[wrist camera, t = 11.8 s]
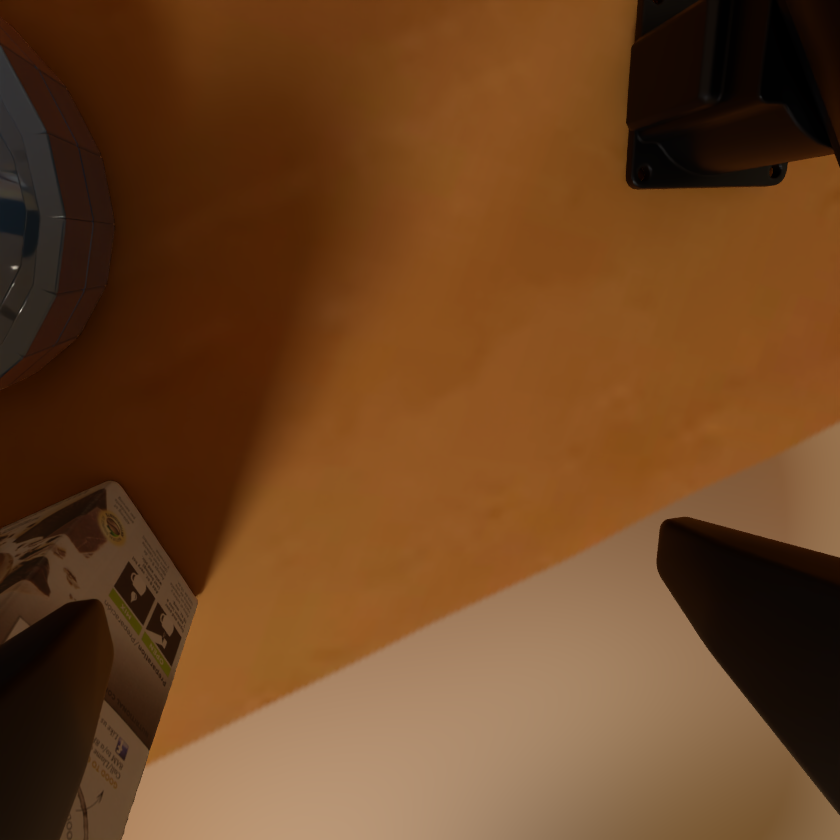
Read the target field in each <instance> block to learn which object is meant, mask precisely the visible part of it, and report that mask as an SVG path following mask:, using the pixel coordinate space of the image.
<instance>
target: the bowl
mask: <svg viewBox="0 0 840 840" xmlns="http://www.w3.org/2000/svg"><path fill="white" fill-rule="evenodd" d="M114 223H115V221H114V215H113V210H112V205H111V200H110V194H109V189H108V184H107V179H106V174H105V168H104V163H103V159H102V158H101V153H100V152H99V150H98V148H97V146H96V144H95V142H94V140H93V138H92V136H91V134H90V132H89V130H88V128H87V126H86V124H85V122H84V120H83V118H82V116H81V115H80V113H79V111H78V109H77V107H76V105H75V103H74V101H73V99H72V97H71V95H70V93H69V91H68V90H67V89H66V86H65V85H64V84H63V83H62V82H61V81H60V79H59V78H58V77H57V76H56V75H55V74H54V73H53V72H52V71H51V69H50V68H49V67H48V66H47V65H46V64H45V63H44V62H43V60H42V59H41V58H40V57H39V56H38V55H37V54H36V53H35V52H34V50H33V49H32V48H31V47H30V46H29V45H28V44H27V43H26V41H25V40H24V39H23V38H22V37H21V36H20V35H19V34H18V33H17V31H16V30H15V29H14V28H13V27H12V26H11V25H10V24H8V23H7V22H6V21H5V20H4V19H2V18H1V17H0V390H2V389H4V388H6V387H8V386H11V385H13V384H15V383H17V382H19V381H21V380H23V379H26V378H28V377H30V376H32V375H34V374H35V373H37V372H38V371H39V370H40V369H42V368H43V367H44V366H45V365H46V364H48V363H49V362H50V361H51V360H52V359H53V358H55V357H56V356H57V355H58V354H59V353H60V352H62V351H63V350H64V349H65V348H66V347H67V346H69V345H70V344H71V343H72V342H73V341H74V340H76V339H77V337H78V335H80V334H81V332H82V330H83V328H84V326H85V325H86V323H87V321H88V319H89V317H90V315H91V314H92V312H93V310H94V308H95V306H96V304H97V302H98V301H99V299H100V297H101V295H102V293H103V291H104V290H105V285H107V282H108V275H109V267H110V260H111V253H112V246H113V238H114V231H115V225H114Z"/></svg>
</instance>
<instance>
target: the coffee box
mask: <svg viewBox="0 0 840 840" xmlns="http://www.w3.org/2000/svg"><path fill="white" fill-rule="evenodd" d="M87 599H98V600H99V601H101V603H102V604H103V606H104V609H105V613H106V617H107V621H108V625H109V629H110V633H111V637H112V642H113V646H114V659H113V665H112V669H111V673H110V677H109V681H108V685H107V689H106V693H105V697H104V701H103V705H102V709H101V713H100V717H99V721H98V725H97V729H96V733H95V737H94V741H93V745H92V749H91V752H90V756H89V760H88V763H87V767H86V769H85V772H84V775H83V778H82V781H81V784H80V787H79V790H78V792H77V795H76V798H75V800H74V803H73V806H72V808H71V811H70V814H69V817H68V819H67V822H66V825H65V827H64V830H63V833H62V836H61V838H60V840H121V839H122V836H123V834H124V829H125V825H126V823H127V820H128V815H129V813H130V809H131V806H132V804H133V802H134V798H135V795H136V791H137V788H138V786H139V783H140V780H141V777H142V774H143V771H144V768H145V765H146V761H147V758H148V754H149V750H150V748H151V745H152V742H153V739H154V736H155V733H156V730H157V727H158V724H159V721H160V717H161V714H162V711H163V708H164V706H165V703H166V700H167V697H168V693H169V690H170V687H171V684H172V681H173V679H174V675H175V672H176V668H177V665H178V662H179V659H180V656H181V652H182V650H183V647H184V644H185V640H186V637H187V634H188V632H189V629H190V625H191V622H192V619H193V616H194V614H195V611H196V608H197V604H198V602H197V599H196V597H195V596H194V594H193V593H192V591H191V590H190V588H189V587H188V585H187V584H186V582H185V580H184V579H183V577H182V576H181V575H180V573H179V572H178V570H177V569H176V567H175V566H174V564H173V562H172V561H171V559H170V558H169V556H168V555H167V553H166V552H165V550H164V549H163V547H162V546H161V544H160V543H159V541H158V540H157V538H156V537H155V535H154V534H153V532H152V531H151V530H150V528H149V527H148V525H147V523H146V522H145V520H144V519H143V517H142V516H141V514H140V513H139V511H138V510H137V508H136V507H135V505H134V504H133V502H132V501H131V500H130V498H129V497H128V495H127V494H126V492H125V491H124V490H123V488H122V487H121V486H120V485H119V483H117V482H115V481H106V482H104V483H101V484H99V485H97V486H94V487H92V488H90V489H88V490H85V491H83V492H81V493H78V494H76V495H74V496H72V497H69V498H67V499H65V500H63V501H60V502H58V503H56V504H54V505H51V506H49V507H47V508H45V509H43V510H40V511H38V512H36V513H34V514H32V515H29V516H27V517H25V518H23V519H21V520H18V521H16V522H14V523H12V524H9V525H7V526H5V527H3V528H1V529H0V645H1V644H3V643H4V642H6V641H7V640H9V639H11V638H12V637H14V636H15V635H17V634H18V633H20V632H22V631H23V630H25V629H26V628H28V627H29V626H31V625H33V624H34V623H36V622H37V621H39V620H41V619H42V618H44V617H45V616H47V615H48V614H50V613H52V612H53V611H55V610H56V609H58V608H60V607H61V606H63V605H64V604H66V603H69V602H73V601H80V600H87Z"/></svg>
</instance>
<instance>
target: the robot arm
mask: <svg viewBox="0 0 840 840" xmlns="http://www.w3.org/2000/svg"><path fill="white" fill-rule="evenodd" d="M626 124H627V126H628V127H629V136H628V150H627V165H626V181H627V183H628V185H629V186H630V187H631V188H633V189H675V188H719V187H763V186H772V185H777V184H779V183H780V182H781V181H782V180H783V178H784V177H785V174H786V171H787V164H788V162H792V161H797V160H803V159H809V158H814V157H820V156H826V155H831V154H835V156H836V159H837V161H838V164H839V166H840V0H658V3H657V4H656V3H654V2H653V0H638V6H637V21H636V35H635V43H634V44H633V45H632V48H631V60H630V74H629V89H628V104H627V119H626ZM771 167H772V169H773V173H772V176H770V175H769V171H770V168H771ZM640 168H642V169H643V170H644V178H643V179H642V181H641V180H640V179H639V178H638V171H639V169H640ZM657 569H658V572H659V574H660V577H661V578H662V580H663V581H664V583H665V585H666V586H667V588H668V589H669V591H670V592H671V594H672V595H673V597H674V598H675V600H676V601H677V603H678V604H679V606H680V607H681V609H682V611H683V612H684V613H685V615H686V617H687V618H688V620H689V621H690V623H691V624H692V626H693V627H694V629H695V630H696V632H697V634H698V635H699V637H700V638H701V640H702V641H703V642H704V644H705V645H706V647H707V648H708V650H709V651H710V652H711V654H712V655H713V656H714V658H715V659H716V660H717V662H718V663H719V664H720V665H721V667H722V668H723V669H724V670H725V672H726V673H727V674H728V675H729V676H730V678H731V679H732V680H733V682H734V683H735V684H736V685H737V687H738V688H739V689H740V691H741V692H742V693H743V694H744V696H745V697H746V698H747V699H748V701H749V702H750V703H751V704H752V706H753V707H754V708H755V709H756V711H757V712H758V713H759V714H760V716H761V717H762V718H763V719H764V721H765V722H766V723H767V724H768V726H769V727H770V728H771V729H772V731H773V732H774V733H775V735H776V736H777V737H778V738H779V739H780V741H781V742H782V743H783V744H784V746H785V747H786V748H787V750H788V751H789V752H790V753H791V755H792V756H793V757H794V758H795V760H796V761H797V762H798V763H799V765H800V766H801V767H802V768H803V770H804V771H805V772H806V773H807V775H808V776H809V777H810V779H811V780H812V781H813V782H814V784H815V785H816V786H817V787H818V789H819V790H820V791H821V792H822V793H823V795H824V796H825V797H826V799H827V800H828V801H829V802H830V804H831V805H832V806H833V807H834V809H835V810H836V811H837V813H838V814H839V815H840V558H839V557H835V556H831V555H828V554H824V553H821V552H816V551H813V550H809V549H806V548H801V547H798V546H794V545H790V544H787V543H783V542H779V541H776V540H772V539H768V538H764V537H761V536H757V535H753V534H750V533H746V532H742V531H738V530H735V529H731V528H727V527H723V526H720V525H715V524H712V523H709V522H705V521H701V520H697V519H693V518H690V517H679V518H672V519H667V520H665V521H664V522H663V523H662V524H661V526H660V532H659V543H658V551H657ZM113 659H114V646H113V642H112V637H111V633H110V629H109V625H108V621H107V617H106V613H105V609H104V606H103V604H102V603H101V601H99V600H98V599H87V600H80V601H73V602H69V603H66V604H64V605H63V606H61V607H60V608H58V609H56V610H55V611H53V612H52V613H50V614H48V615H47V616H45V617H44V618H42V619H41V620H39V621H37V622H36V623H34V624H33V625H31V626H29V627H28V628H26V629H25V630H23V631H22V632H20V633H18V634H17V635H15V636H14V637H12V638H11V639H9V640H7V641H6V642H4V643H3V644H1V645H0V840H60V838H61V836H62V833H63V830H64V827H65V825H66V822H67V819H68V817H69V814H70V811H71V808H72V806H73V803H74V800H75V798H76V795H77V792H78V790H79V787H80V784H81V781H82V778H83V775H84V772H85V769H86V767H87V763H88V760H89V756H90V752H91V749H92V745H93V741H94V737H95V733H96V729H97V725H98V721H99V717H100V713H101V709H102V705H103V701H104V697H105V693H106V689H107V685H108V681H109V677H110V673H111V669H112V665H113Z"/></svg>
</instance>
